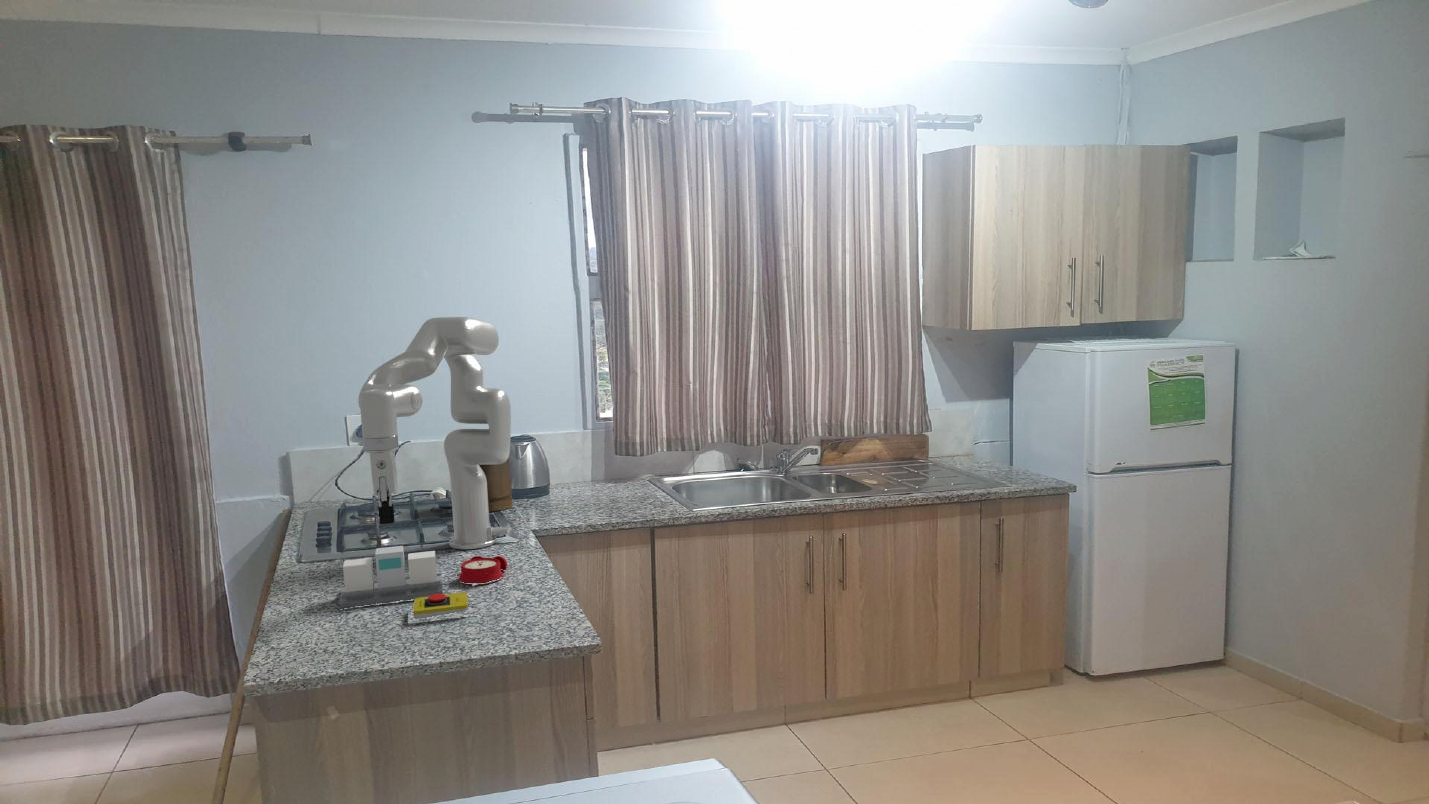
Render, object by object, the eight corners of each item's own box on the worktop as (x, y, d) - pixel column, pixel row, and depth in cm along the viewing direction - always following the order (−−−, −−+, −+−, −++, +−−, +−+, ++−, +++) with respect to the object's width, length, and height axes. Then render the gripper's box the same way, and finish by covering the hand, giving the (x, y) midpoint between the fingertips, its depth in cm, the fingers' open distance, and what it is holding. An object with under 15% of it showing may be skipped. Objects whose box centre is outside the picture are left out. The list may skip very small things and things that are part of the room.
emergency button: (406, 593, 212) (476, 585, 216) (407, 612, 213) (477, 604, 217) (405, 607, 203) (478, 598, 207) (406, 627, 204) (479, 618, 208)
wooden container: (497, 499, 315) (492, 432, 312) (521, 506, 304) (517, 437, 301) (455, 507, 305) (450, 439, 302) (479, 515, 294) (474, 444, 291)
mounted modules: (436, 575, 229) (434, 550, 228) (437, 581, 224) (435, 556, 223) (346, 585, 223) (344, 560, 222) (345, 592, 218) (343, 566, 217)
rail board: (441, 579, 234) (440, 569, 233) (442, 597, 220) (442, 586, 220) (344, 590, 227) (343, 580, 227) (340, 610, 214) (339, 599, 214)
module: (405, 578, 227) (403, 545, 226) (405, 585, 222) (402, 551, 221) (378, 581, 225) (376, 548, 224) (377, 588, 220) (375, 554, 219)
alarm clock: (450, 573, 227) (470, 541, 241) (453, 596, 229) (473, 563, 243) (493, 573, 226) (511, 541, 240) (496, 596, 228) (514, 563, 242)
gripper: (397, 448, 213) (403, 529, 215) (398, 437, 227) (404, 513, 230) (361, 450, 211) (368, 532, 213) (364, 439, 225) (371, 516, 228)
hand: (387, 522), depth 222 cm, fingers closed
